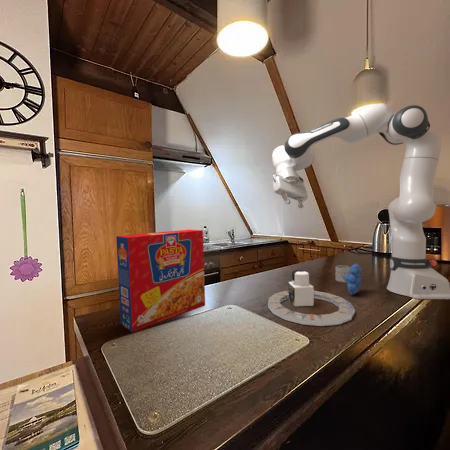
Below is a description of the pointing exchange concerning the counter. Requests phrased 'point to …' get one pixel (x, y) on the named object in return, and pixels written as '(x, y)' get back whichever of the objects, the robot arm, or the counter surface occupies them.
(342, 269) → the mug
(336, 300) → the turntable ring
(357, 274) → the grapes
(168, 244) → the pasta box
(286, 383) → the counter surface
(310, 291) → the medicine bottle
